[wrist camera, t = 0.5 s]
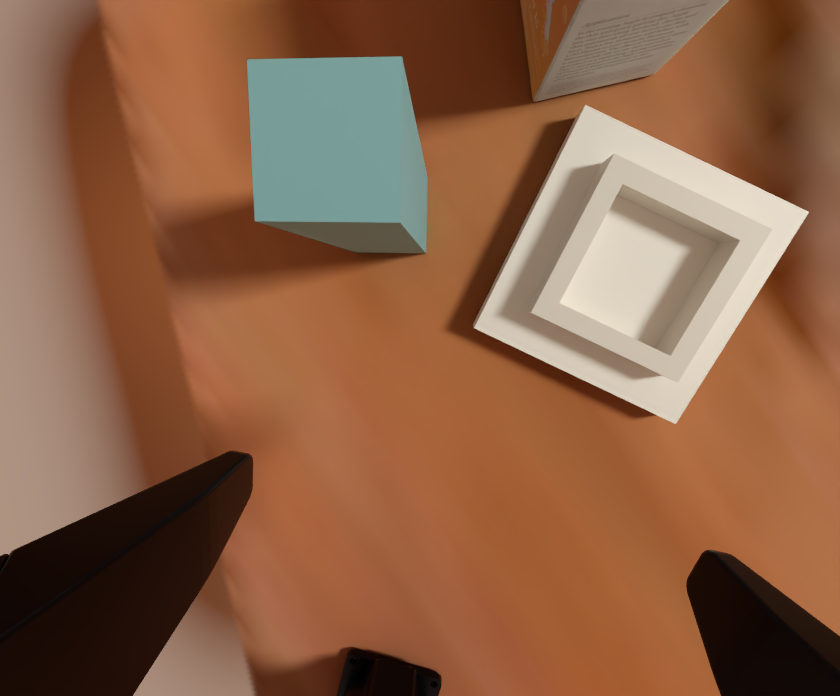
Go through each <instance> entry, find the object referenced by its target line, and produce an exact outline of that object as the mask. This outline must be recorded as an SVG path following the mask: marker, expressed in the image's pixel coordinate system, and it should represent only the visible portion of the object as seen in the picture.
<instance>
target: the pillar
mask: <svg viewBox="0 0 840 696" xmlns="http://www.w3.org/2000/svg"><path fill="white" fill-rule="evenodd" d="M247 70H248V91H249V112H250V133H251V154H252V175H253V196H254V217H255V222H259V223H262V224H265V225H268V226H272V227H275V228H278V229H281V230H285V231H288V232H291V233H294V234H298V235H301V236H304V237H307V238H310V239H314V240H317V241H320V242H323V243H327V244H330V245H333V246H336V247H340V248H343V249H346V250H349V251H353V252H356V253H423V254H426V235H427V187H428V177H427V173H426V168H425V163H424V158H423V154H422V149H421V144H420V139H419V135H418V130H417V125H416V120H415V116H414V111H413V106H412V101H411V96H410V92H409V87H408V82H407V77H406V73H405V68H404V63H403V58H402V56H394V57H342V58H289V59H247Z"/></svg>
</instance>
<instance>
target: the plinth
mask: <svg viewBox="0 0 840 696" xmlns="http://www.w3.org/2000/svg"><path fill="white" fill-rule="evenodd" d="M808 213H809V212H808V211H806V210H804V209H801V208H799V207H797V206H795V205H793V204H791V203H789V202H787V201H785V200H783V199H781V198H779V197H776V196H774V195H772V194H770V193H768V192H766V191H764V190H762V189H760V188H758V187H756V186H753V185H751V184H749V183H747V182H745V181H743V180H741V179H739V178H737V177H735V176H733V175H731V174H728V173H726V172H724V171H722V170H720V169H718V168H716V167H714V166H712V165H710V164H708V163H706V162H703V161H701V160H699V159H697V158H695V157H693V156H691V155H689V154H687V153H685V152H683V151H681V150H678V149H676V148H674V147H672V146H670V145H668V144H666V143H664V142H662V141H660V140H658V139H656V138H653V137H651V136H649V135H647V134H645V133H643V132H641V131H639V130H637V129H635V128H633V127H630V126H628V125H626V124H624V123H622V122H620V121H618V120H616V119H614V118H612V117H610V116H608V115H605V114H603V113H601V112H599V111H597V110H595V109H593V108H591V107H589V106H587V105H585V106H584V107H583V109H582V110H581V111H580V112H579V114H578V115H577V116H576V118H575V120H574V122H573V124H572V126H571V128H570V130H569V132H568V134H567V136H566V138H565V140H564V142H563V144H562V146H561V148H560V150H559V152H558V154H557V156H556V158H555V160H554V162H553V164H552V166H551V168H550V170H549V172H548V174H547V176H546V178H545V180H544V182H543V184H542V186H541V188H540V190H539V192H538V194H537V196H536V198H535V200H534V202H533V204H532V206H531V208H530V210H529V212H528V214H527V216H526V218H525V220H524V222H523V224H522V226H521V228H520V230H519V232H518V235H517V237H516V239H515V241H514V243H513V245H512V247H511V249H510V251H509V253H508V255H507V257H506V259H505V261H504V263H503V265H502V267H501V269H500V271H499V273H498V275H497V277H496V279H495V281H494V283H493V285H492V287H491V289H490V291H489V293H488V295H487V297H486V299H485V301H484V303H483V305H482V307H481V309H480V311H479V313H478V315H477V317H476V319H475V321H474V323H473V327H474V328H475V329H477V330H479V331H481V332H483V333H485V334H487V335H489V336H491V337H494V338H496V339H498V340H500V341H502V342H504V343H506V344H508V345H510V346H512V347H515V348H517V349H519V350H521V351H523V352H525V353H527V354H529V355H531V356H533V357H536V358H538V359H540V360H542V361H544V362H546V363H548V364H550V365H552V366H554V367H557V368H559V369H561V370H563V371H565V372H567V373H569V374H571V375H573V376H576V377H578V378H580V379H582V380H584V381H586V382H588V383H590V384H592V385H594V386H597V387H599V388H601V389H603V390H605V391H607V392H609V393H611V394H613V395H615V396H618V397H620V398H622V399H624V400H626V401H628V402H630V403H632V404H634V405H636V406H639V407H641V408H643V409H645V410H647V411H649V412H651V413H653V414H655V415H657V416H660V417H662V418H664V419H666V420H668V421H670V422H672V423H674V424H676V423H677V421H678V420H679V418H680V416H681V415H682V413H683V412H684V410H685V408H686V407H687V405H688V404H689V402H690V400H691V399H692V397H693V396H694V394H695V392H696V391H697V389H698V388H699V386H700V385H701V383H702V381H703V380H704V378H705V377H706V375H707V373H708V372H709V370H710V369H711V367H712V365H713V364H714V362H715V361H716V359H717V358H718V356H719V354H720V353H721V351H722V350H723V348H724V346H725V345H726V343H727V342H728V340H729V338H730V337H731V335H732V334H733V332H734V331H735V329H736V327H737V326H738V324H739V323H740V321H741V319H742V318H743V316H744V315H745V313H746V311H747V310H748V308H749V307H750V305H751V304H752V302H753V300H754V299H755V297H756V296H757V294H758V292H759V291H760V289H761V288H762V286H763V284H764V283H765V281H766V280H767V278H768V277H769V275H770V273H771V272H772V270H773V269H774V267H775V265H776V264H777V262H778V261H779V259H780V257H781V256H782V254H783V253H784V251H785V250H786V248H787V246H788V245H789V243H790V242H791V240H792V238H793V237H794V235H795V234H796V232H797V230H798V229H799V227H800V226H801V224H802V222H803V221H804V219H805V218H806V216H807V215H808Z"/></svg>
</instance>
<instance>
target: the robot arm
mask: <svg viewBox="0 0 840 696" xmlns="http://www.w3.org/2000/svg"><path fill="white" fill-rule="evenodd" d="M252 487H253V458H252V456H251V455H250V454H248V453H243V452H238V451H229V452H226V453H224V454H222V455H220V456H218V457H216V458H213V459H211V460H209V461H207V462H205V463H203V464H200V465H198V466H196V467H194V468H192V469H189V470H187V471H185V472H183V473H181V474H179V475H176V476H174V477H172V478H170V479H168V480H165V481H163V482H161V483H159V484H157V485H155V486H152V487H150V488H148V489H146V490H144V491H141V492H139V493H137V494H135V495H133V496H131V497H128V498H126V499H124V500H122V501H120V502H117V503H115V504H113V505H111V506H109V507H107V508H104V509H102V510H100V511H98V512H96V513H93V514H91V515H89V516H87V517H85V518H83V519H80V520H78V521H76V522H74V523H72V524H69V525H67V526H65V527H63V528H61V529H59V530H56V531H54V532H52V533H50V534H48V535H45V536H43V537H41V538H39V539H37V540H35V541H33V542H30V543H28V544H26V545H24V546H21V547H19V548H17V549H15V550H13V551H12V552H11V553H10V555H8V554H4V555H2V556H0V696H133V694H134V693H135V691H136V689H137V688H138V686H139V685H140V683H141V682H142V680H143V679H144V677H145V675H146V674H147V672H148V671H149V669H150V668H151V666H152V665H153V663H154V661H155V660H156V658H157V657H158V655H159V654H160V652H161V651H162V649H163V648H164V646H165V644H166V643H167V641H168V640H169V638H170V637H171V635H172V634H173V632H174V630H175V628H176V627H177V626H178V624H179V623H180V621H181V619H182V618H183V616H184V615H185V613H186V612H187V610H188V608H189V607H190V605H191V604H192V602H193V601H194V599H195V598H196V596H197V595H198V593H199V591H200V590H201V588H202V587H203V585H204V584H205V582H206V580H207V579H208V577H209V575H210V573H211V572H212V570H213V568H214V567H215V565H216V563H217V561H218V559H219V557H220V555H221V553H222V551H223V549H224V547H225V545H226V543H227V541H228V539H229V538H230V536H231V534H232V532H233V530H234V528H235V526H236V524H237V522H238V520H239V518H240V516H241V514H242V512H243V510H244V508H245V506H246V504H247V502H248V500H249V498H250V496H251V492H252ZM686 587H687V593H688V596H689V600H690V603H691V606H692V609H693V612H694V615H695V618H696V622H697V625H698V628H699V631H700V634H701V637H702V641H703V644H704V647H705V650H706V653H707V656H708V659H709V663H710V666H711V669H712V672H713V675H714V678H715V680H716V683H717V686H718V689H719V691H720V694H721V696H840V636H839V635H837V634H836V633H835V632H833V631H832V630H831V629H829V628H828V627H827V626H825V625H824V624H823V623H821V622H820V621H819V620H817V619H816V618H815V617H813V616H812V615H811V614H810V613H808V612H807V611H806V610H804V609H803V608H802V607H800V606H799V605H798V604H796V603H795V602H794V601H792V600H791V599H790V598H788V597H787V596H786V595H784V594H783V593H782V592H780V591H779V590H778V589H776V588H775V587H774V586H772V585H771V584H770V583H769V582H767V581H766V580H765V579H763V578H762V577H761V576H759V575H758V574H757V573H755V572H754V571H753V570H751V569H750V568H749V567H747V566H746V565H745V564H743V563H742V562H741V561H739V560H738V559H737V558H735V557H734V556H732V555H730V554H728V553H724V552H719V551H714V550H706V551H704V552H703V553H702V554H701V556H700V558H699V559H698V561H697V563H696V564H695V566H694V568H693V570H692V571H691V573H690V575H689V576H688V579H687V586H686ZM353 658H355V659H353ZM433 681H435V682H433ZM440 688H441V676H440V675H439V674H438V673H436V672H433V671H430V670H426V669H423V668H419V667H416V666H412V665H408V664H405V663H401V662H398V661H394V660H391V659H387V658H384V657H380V656H377V655H373V654H370V653H366V652H363V651H359V650H355V649H353V650H350V651H349V652H348V655H347V658H346V662H345V666H344V670H343V674H342V678H341V682H340V685H339V689H338V693H337V696H438V695H439V692H440Z"/></svg>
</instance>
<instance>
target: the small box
mask: <svg viewBox="0 0 840 696" xmlns="http://www.w3.org/2000/svg"><path fill="white" fill-rule="evenodd" d="M728 1H729V0H520V4H521V11H522V17H523V25H524V33H525V41H526V49H527V57H528V65H529V74H530V83H531V91H532V99H533V101H535V102H537V101H541V100H545V99H550V98H554V97H558V96H562V95H567V94H571V93H575V92H580V91H584V90H588V89H592V88H597V87H602V86H606V85H611V84H615V83H619V82H623V81H628V80H632V79H636V78H640V77H645V76H650V75H653V74H655V73H656V72H657V71H658V70H659V69H660V68H661V67H662V66H663V65H664V64H665V63H666V62H668V61H669V60H670V59H671V58H672V57H673V56H674V55H675V54H676V53H677V52H678V51H679V50H680V49H681V48H682V47H683V46H684V45H685V44H686V43H687V42H688V41H689V40H690V39H691V38H692V37H693V36H694V35H695V34H696V33H697V32H698V31H699V30H700V29H701V28H702V27H703V26H704V25H705V24H706V23H707V22H708V21H709V20H710V19H711V18H712V17H713V16H714V15H715V14H716V13H717V12H718V11H719V10H720V9H721V8H722V7H723V6H724V5H725V4H726V3H727V2H728Z"/></svg>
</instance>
